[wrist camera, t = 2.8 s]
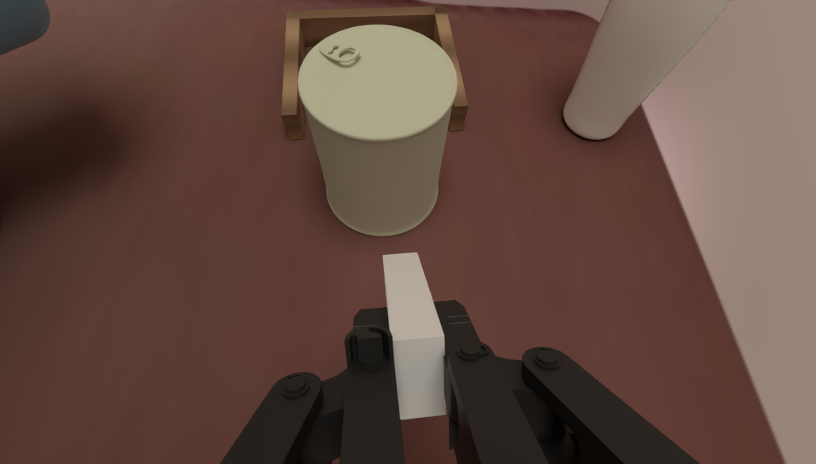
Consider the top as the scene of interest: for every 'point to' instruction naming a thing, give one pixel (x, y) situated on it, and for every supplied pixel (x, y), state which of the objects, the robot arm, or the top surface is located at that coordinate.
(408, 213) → the can
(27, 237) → the top surface
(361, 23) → the corral
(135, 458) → the top surface
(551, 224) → the top surface
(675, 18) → the drinking glass
